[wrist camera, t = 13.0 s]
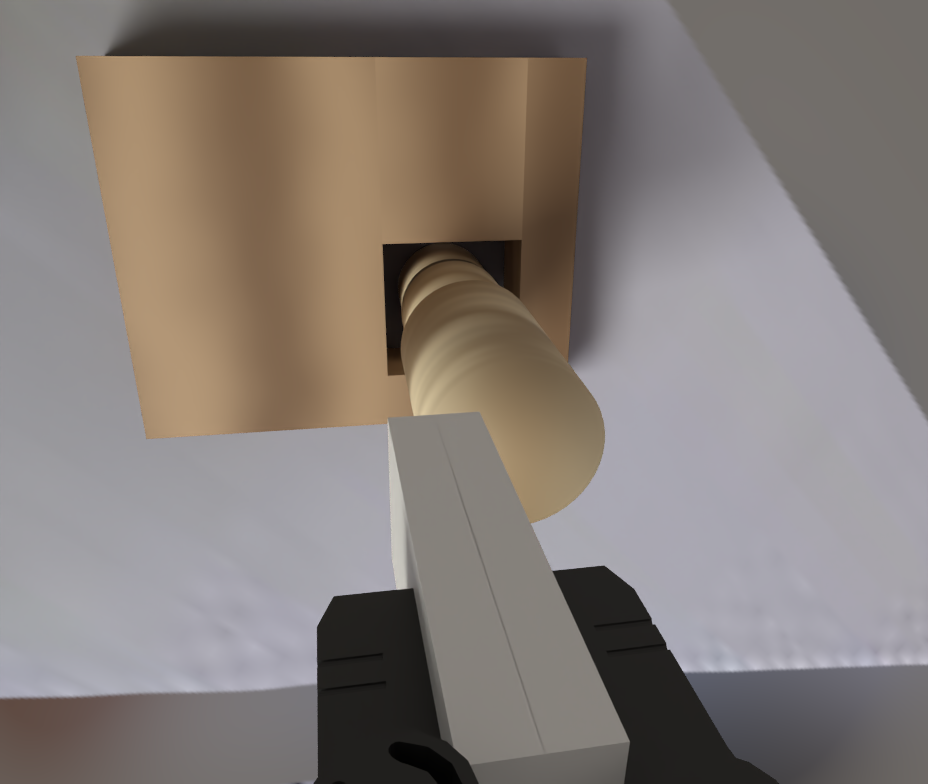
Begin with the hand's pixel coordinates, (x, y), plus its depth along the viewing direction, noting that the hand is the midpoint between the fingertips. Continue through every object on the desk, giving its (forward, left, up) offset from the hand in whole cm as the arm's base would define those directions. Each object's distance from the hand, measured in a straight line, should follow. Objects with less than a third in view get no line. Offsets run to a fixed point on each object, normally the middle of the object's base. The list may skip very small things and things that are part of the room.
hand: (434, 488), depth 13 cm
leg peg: (+2, -2, -19) cm, 19 cm away
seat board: (-1, 0, -19) cm, 19 cm away
